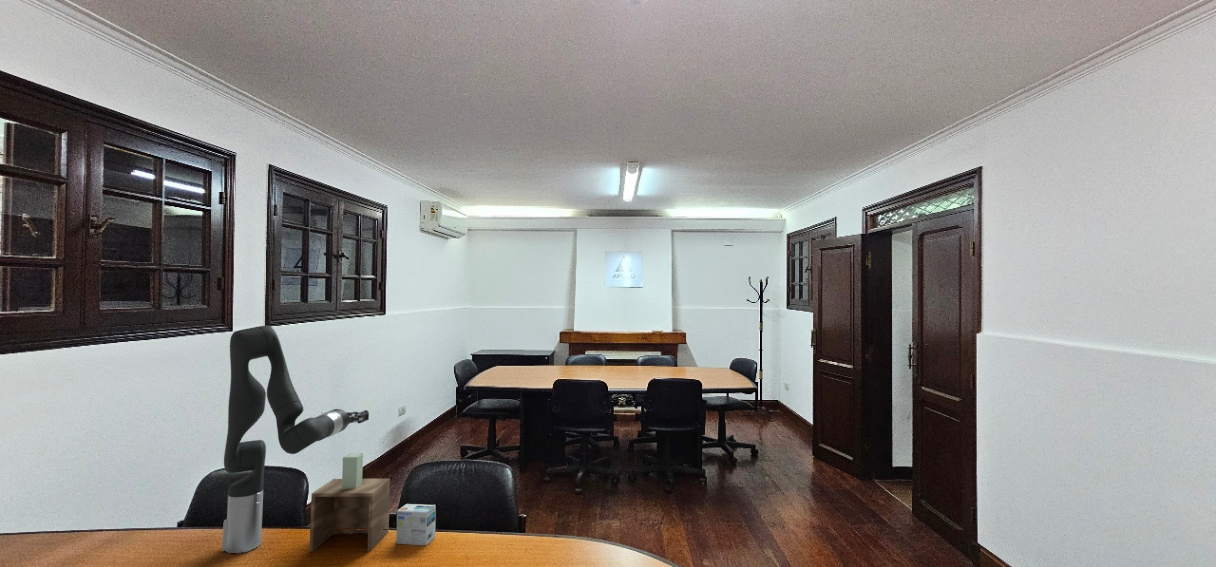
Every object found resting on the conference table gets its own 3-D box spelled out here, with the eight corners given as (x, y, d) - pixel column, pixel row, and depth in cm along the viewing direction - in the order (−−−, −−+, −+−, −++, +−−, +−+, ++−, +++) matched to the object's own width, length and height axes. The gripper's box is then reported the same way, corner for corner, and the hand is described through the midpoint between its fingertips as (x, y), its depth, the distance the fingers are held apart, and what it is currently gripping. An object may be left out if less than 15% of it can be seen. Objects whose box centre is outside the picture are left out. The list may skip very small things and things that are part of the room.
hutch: (309, 551, 160) (311, 493, 161) (331, 532, 174) (333, 478, 175) (370, 551, 160) (372, 493, 161) (388, 532, 174) (389, 478, 175)
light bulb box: (435, 537, 171) (436, 504, 172) (426, 546, 164) (427, 512, 165) (405, 535, 172) (406, 502, 173) (395, 544, 166) (396, 510, 166)
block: (341, 488, 165) (342, 457, 166) (348, 484, 170) (349, 453, 170) (356, 488, 165) (357, 457, 166) (362, 483, 170) (363, 453, 170)
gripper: (353, 411, 162) (375, 402, 178) (308, 411, 161) (333, 402, 177) (353, 435, 161) (374, 424, 178) (307, 435, 161) (333, 424, 177)
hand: (354, 413), depth 177 cm, fingers open, 8 cm apart
